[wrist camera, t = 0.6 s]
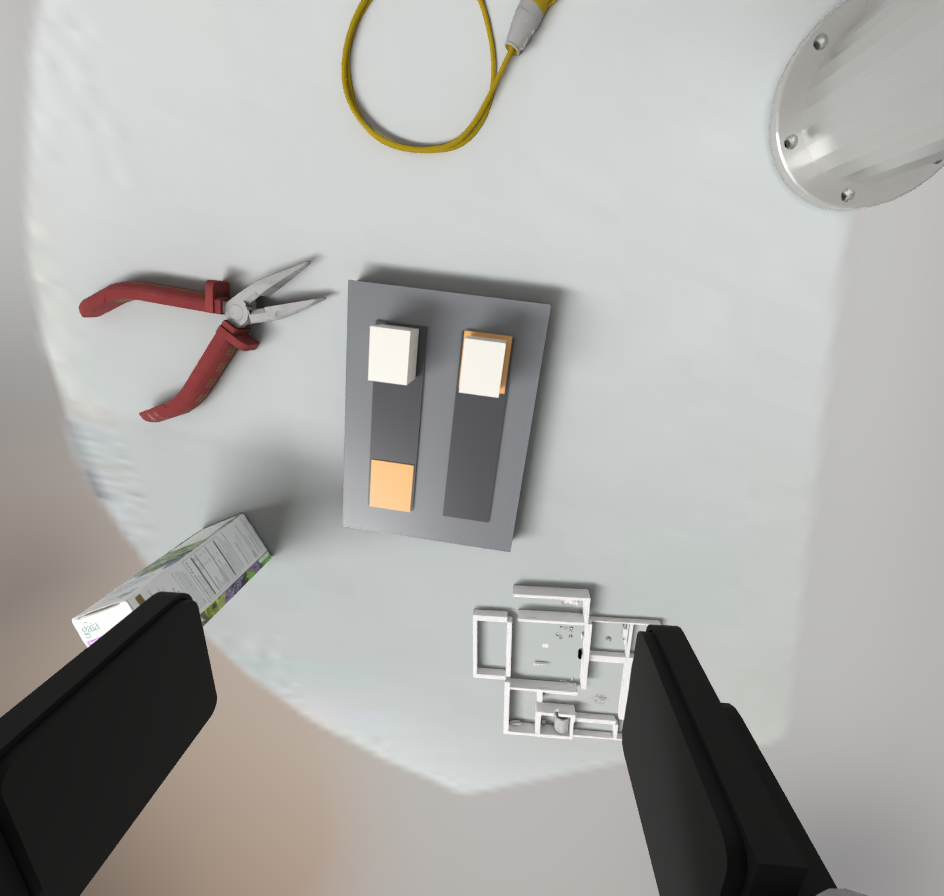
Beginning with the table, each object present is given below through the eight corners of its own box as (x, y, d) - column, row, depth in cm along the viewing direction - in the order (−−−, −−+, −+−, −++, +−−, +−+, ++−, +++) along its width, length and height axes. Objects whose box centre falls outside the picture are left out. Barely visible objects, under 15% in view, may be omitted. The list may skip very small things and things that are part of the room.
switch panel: (357, 280, 37) (347, 279, 35) (549, 304, 36) (551, 304, 34) (350, 516, 44) (341, 527, 42) (510, 541, 43) (510, 553, 41)
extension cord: (570, 119, 32) (574, 107, 30) (368, 176, 35) (360, 169, 33) (543, -96, 29) (545, -124, 27) (320, -15, 31) (308, -35, 29)
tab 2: (468, 335, 35) (464, 338, 32) (506, 340, 35) (505, 343, 32) (463, 385, 36) (458, 392, 33) (499, 390, 36) (498, 397, 33)
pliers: (353, 348, 39) (341, 351, 37) (162, 422, 43) (140, 430, 41) (292, 206, 36) (274, 199, 33) (93, 301, 40) (64, 300, 38)
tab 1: (381, 324, 35) (370, 326, 32) (418, 328, 35) (410, 331, 32) (379, 374, 37) (367, 380, 34) (415, 378, 36) (406, 385, 34)
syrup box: (230, 573, 48) (114, 683, 34) (199, 527, 46) (64, 623, 32) (273, 556, 46) (171, 664, 33) (243, 509, 45) (122, 600, 31)
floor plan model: (415, 576, 46) (411, 588, 44) (665, 590, 44) (671, 603, 42) (422, 713, 52) (419, 729, 50) (642, 732, 50) (647, 749, 48)
